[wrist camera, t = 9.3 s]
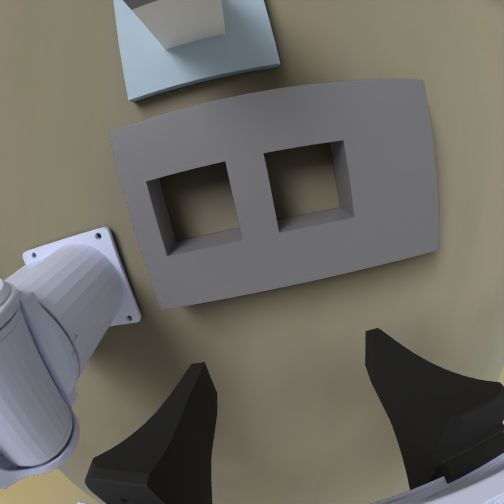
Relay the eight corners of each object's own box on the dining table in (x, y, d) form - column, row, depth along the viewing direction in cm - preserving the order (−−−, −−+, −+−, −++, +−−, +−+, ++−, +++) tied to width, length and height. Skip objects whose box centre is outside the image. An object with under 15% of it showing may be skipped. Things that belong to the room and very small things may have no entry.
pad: (133, 102, 18) (128, 100, 17) (117, -9, 15) (112, -13, 14) (278, 67, 18) (280, 63, 17) (248, -42, 14) (248, -48, 13)
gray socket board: (170, 290, 23) (161, 310, 20) (126, 133, 19) (108, 132, 16) (419, 237, 22) (438, 249, 19) (402, 85, 18) (422, 79, 15)
